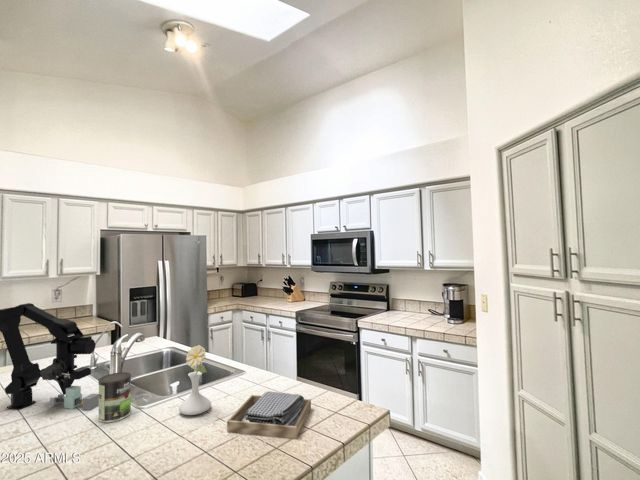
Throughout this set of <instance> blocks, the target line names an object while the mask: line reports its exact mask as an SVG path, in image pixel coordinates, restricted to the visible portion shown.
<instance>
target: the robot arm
mask: <svg viewBox="0 0 640 480" xmlns="http://www.w3.org/2000/svg"><path fill="white" fill-rule="evenodd" d="M22 316H23V317H25V318H27V319H29V320H31V321H33V322H35V323H37V324H39V325H40V326H42V327H44V328H46V329H48V332H49V334H50V335H51V336H53V337H54V339H53V340H52V341H50V344H51V345H56V347H55V348H56V351H55V358H53V360H52V364H50V365H48V366H46V367H43V368H42V369H40V364H39V363H38V362H36V363H34V362H32V361H31V360H30V358H29V355H28V352H27V349H26V346H25V343H24V340H23V337H22V334H21V331H20V328H19V326H20V324H21V322H22V320H21V319H22V318H21V317H22ZM0 332H1V333H2V337H3V339H4V342H5V345H6V350H7V351H8V354H9V357H10V360H11V362H12V366H13V368H12V371H11V374H10V377H11V382H10V383H8V385H7V386H6V387H5V388H4V392H5V395H10V404H9V405H8V406H6V409H9V410H12V409H13V410H21V409H23V408H26V407H28V406H31V405H32V404H35V403H37V401H36V400H33V387H36V386H37V385H38V382H39V380H40V378H42V380H43V381H46V380H47V381H55V382H57V384H58V385H59V388H60V390H61V394H63V395H64V396H66V388H68V387H70V386H73V383H74V381H75V380H81V379H82V378H83V379H84V378H85V377H88V376H91V374H92V368H90V367H88V366H86V367H85V366H83V367H82V366H81V367H78V365H77V364H75V359H76V358H78V355H92V354H93V352H94V351H95V349H96V342H95V340H94V339H93V337H92V335H89V336H88V335H87V336H84V333H83V332H82V331H81V329H80V328H79V326H78V324H77V323H76V322H75V321H73V320H71V319H68V318H61V317H60V318H59V317H57V316H55V315H53V314H51V313H49V312H47V311H45V310H43V309H41V308H39V307H37V306H35V304H33V303H30V302H27V303H22V304H19V305H16V306H14V307H7V308H6V307H5V308H1V309H0Z"/></svg>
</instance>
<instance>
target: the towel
mask: <svg viewBox="0 0 640 480" xmlns="http://www.w3.org/2000/svg"><path fill="white" fill-rule="evenodd" d="M260 396H261V397H260V398H259V399H258V401H257V402H256V403H255V404H254V405H253V406H251V407H250V408H249V409H248V410H247V412H246V414H245V415H246V417H245V421H248V422H255V423H266V424H276V425H287V426H295V424H296V422H297V420H298V419H299V417H300V415H301V413H302V411H303V409H304V405H303V402H304V399H305V397H304V396H303V395H302V394H296V393H293V394H292V393H286V392H277V391H270V390H269V391H265V392H264V393H263V394H261V395H260Z"/></svg>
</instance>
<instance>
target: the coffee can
mask: <svg viewBox="0 0 640 480" xmlns="http://www.w3.org/2000/svg"><path fill="white" fill-rule="evenodd" d="M131 378H132V374H131V373H130V372H127V371H125V372H122V371H121V372H114V373H109V374H106V375H104V376H101V377H100V378H99V379H98V381H97V382H98V394H99V406H98V418H97V419H98V422H100V423H104V424H106V423H109V424H110V423H114V422H118V421H121V420H123V419H126V418H127V417H129V416H130V415H131V412H132V411H131V401H132V400H131V396H132V395H131V393H132V392H131V391H132V390H131V387H132V385H131V383H132V380H131Z"/></svg>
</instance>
